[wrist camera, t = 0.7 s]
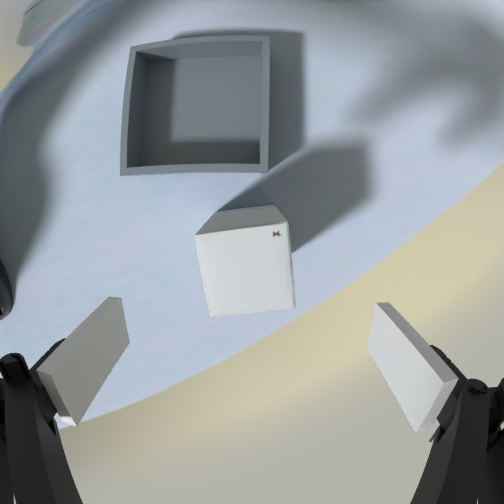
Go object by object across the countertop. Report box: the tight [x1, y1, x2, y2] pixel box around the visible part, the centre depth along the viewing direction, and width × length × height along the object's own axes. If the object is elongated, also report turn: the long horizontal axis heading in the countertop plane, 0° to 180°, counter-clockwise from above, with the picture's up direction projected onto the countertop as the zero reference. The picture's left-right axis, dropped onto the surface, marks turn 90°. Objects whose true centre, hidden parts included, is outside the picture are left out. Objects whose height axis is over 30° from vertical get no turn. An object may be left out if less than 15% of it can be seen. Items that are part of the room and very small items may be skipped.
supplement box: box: [195, 204, 296, 317], centre depth 27 cm, size 7×7×13 cm
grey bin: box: [120, 35, 270, 176], centre depth 27 cm, size 16×16×5 cm
